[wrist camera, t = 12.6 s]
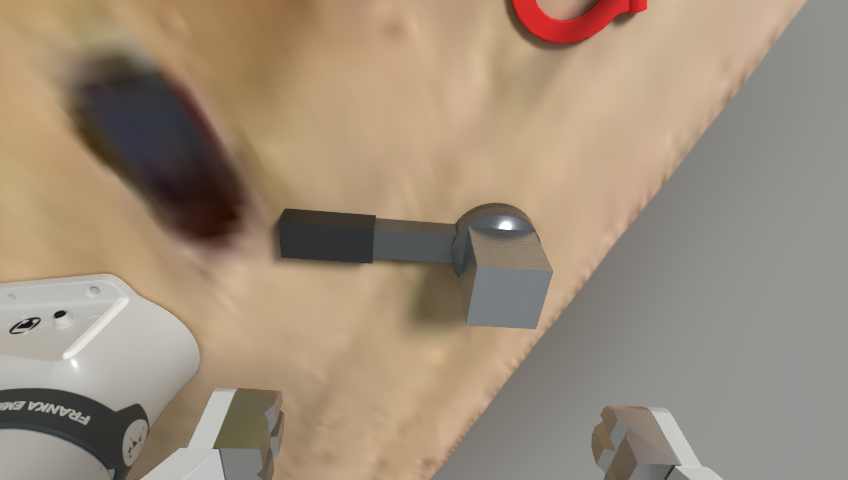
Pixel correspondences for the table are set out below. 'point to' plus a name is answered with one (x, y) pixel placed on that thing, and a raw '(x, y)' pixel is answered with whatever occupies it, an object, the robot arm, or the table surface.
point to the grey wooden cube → (503, 278)
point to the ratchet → (388, 235)
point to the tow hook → (576, 29)
